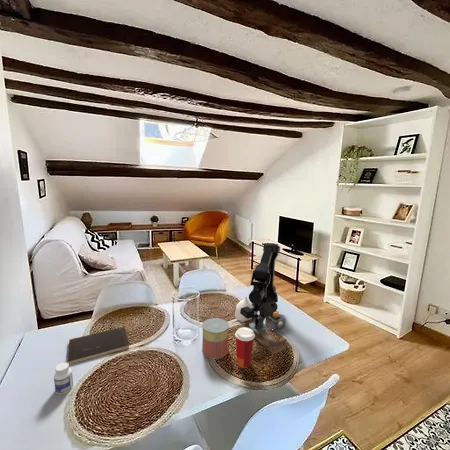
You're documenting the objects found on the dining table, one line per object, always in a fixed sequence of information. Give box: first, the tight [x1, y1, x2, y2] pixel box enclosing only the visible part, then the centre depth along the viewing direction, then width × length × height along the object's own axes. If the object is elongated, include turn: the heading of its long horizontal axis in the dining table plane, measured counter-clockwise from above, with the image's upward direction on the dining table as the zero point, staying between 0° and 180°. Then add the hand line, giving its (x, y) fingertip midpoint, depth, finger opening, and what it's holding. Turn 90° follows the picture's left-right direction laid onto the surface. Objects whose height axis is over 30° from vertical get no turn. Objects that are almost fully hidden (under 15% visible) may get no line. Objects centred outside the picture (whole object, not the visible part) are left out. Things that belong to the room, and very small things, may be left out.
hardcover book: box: [66, 326, 130, 365], centre depth 112 cm, size 16×23×2 cm
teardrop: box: [234, 296, 254, 323], centre depth 138 cm, size 11×11×12 cm
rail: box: [243, 318, 287, 355], centre depth 120 cm, size 22×7×5 cm, turn 32°
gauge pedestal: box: [264, 314, 286, 332], centre depth 131 cm, size 7×7×5 cm
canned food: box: [201, 317, 230, 360], centre depth 110 cm, size 11×11×12 cm
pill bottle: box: [53, 362, 74, 395], centre depth 88 cm, size 5×5×9 cm
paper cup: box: [234, 326, 255, 369], centre depth 103 cm, size 8×8×14 cm
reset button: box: [273, 310, 280, 320], centre depth 130 cm, size 3×3×4 cm
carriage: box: [249, 314, 269, 335], centre depth 123 cm, size 6×6×7 cm
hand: (258, 324), depth 123 cm, fingers closed on carriage, 3 cm apart
